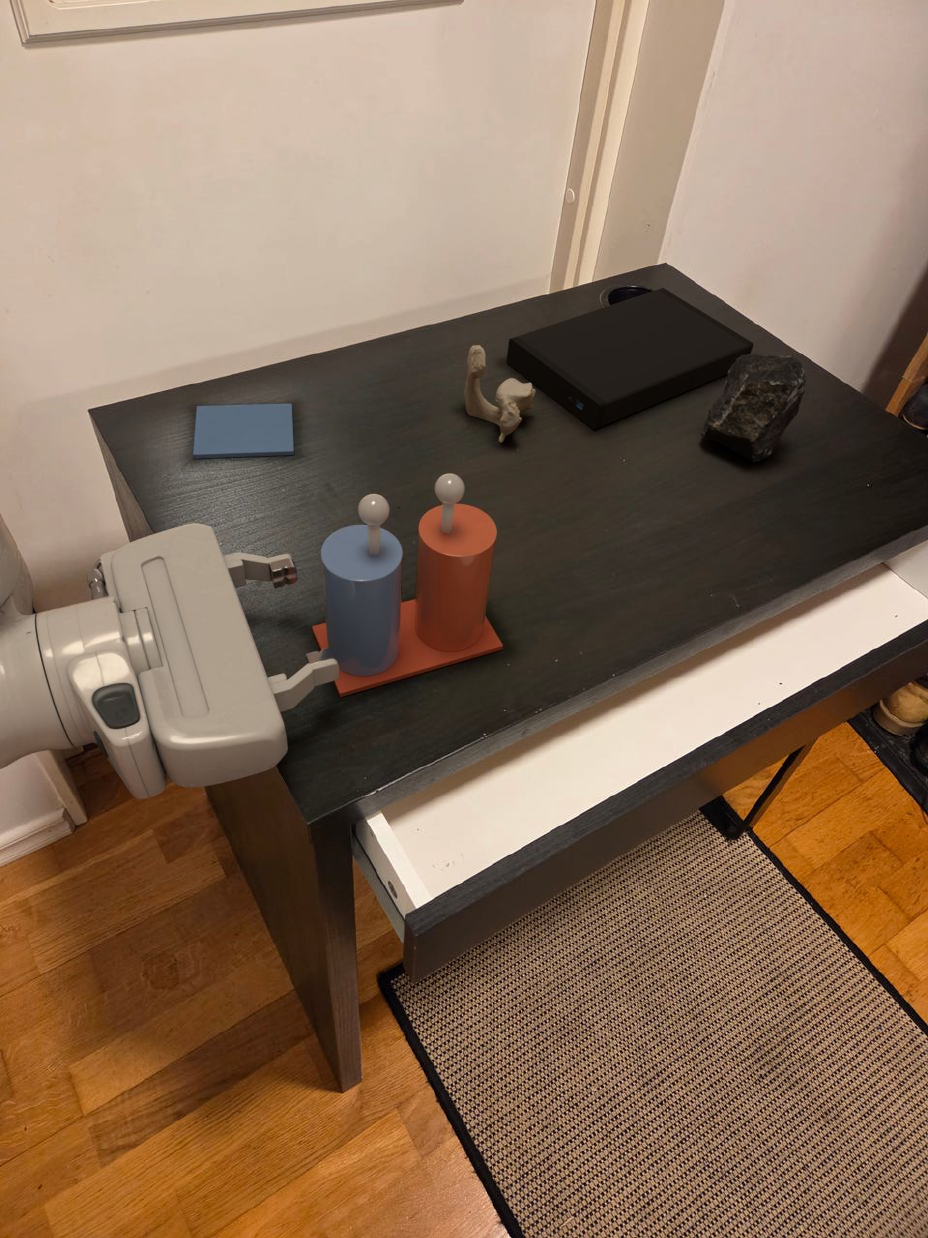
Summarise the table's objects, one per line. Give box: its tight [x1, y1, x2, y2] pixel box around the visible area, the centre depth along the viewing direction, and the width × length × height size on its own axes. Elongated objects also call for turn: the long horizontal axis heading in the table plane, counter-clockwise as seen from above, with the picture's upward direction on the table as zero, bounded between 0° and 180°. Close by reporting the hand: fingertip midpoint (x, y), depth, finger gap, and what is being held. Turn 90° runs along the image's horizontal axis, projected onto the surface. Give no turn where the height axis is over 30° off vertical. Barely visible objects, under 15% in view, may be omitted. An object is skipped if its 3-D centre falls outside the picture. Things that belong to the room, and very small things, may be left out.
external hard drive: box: [506, 287, 755, 431], centre depth 93 cm, size 14×23×3 cm, turn 127°
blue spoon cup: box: [320, 493, 404, 676], centre depth 58 cm, size 5×5×15 cm
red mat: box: [311, 598, 504, 698], centre depth 65 cm, size 13×7×1 cm, turn 114°
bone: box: [463, 344, 537, 444], centre depth 82 cm, size 9×6×10 cm
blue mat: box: [192, 403, 295, 460], centre depth 81 cm, size 9×8×1 cm
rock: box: [700, 352, 807, 463], centre depth 82 cm, size 8×7×10 cm
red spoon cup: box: [414, 473, 498, 652], centre depth 61 cm, size 5×5×15 cm
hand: (314, 613), depth 59 cm, fingers open, 8 cm apart
